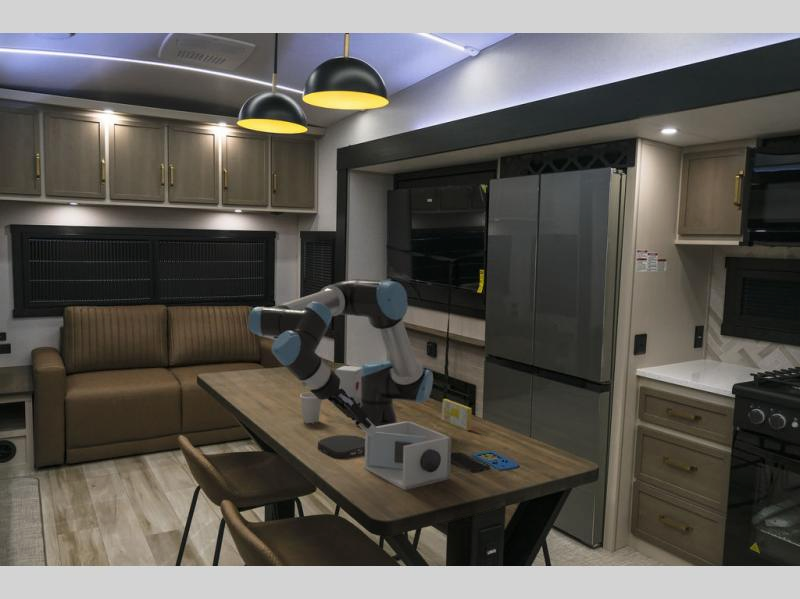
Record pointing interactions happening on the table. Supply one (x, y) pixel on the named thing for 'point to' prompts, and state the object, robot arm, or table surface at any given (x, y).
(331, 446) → the media streaming box
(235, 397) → the table surface
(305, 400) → the dixie cup
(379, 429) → the open box
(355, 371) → the supplement box
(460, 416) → the candy box
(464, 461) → the phone
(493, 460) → the handheld gaming device
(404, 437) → the side door
